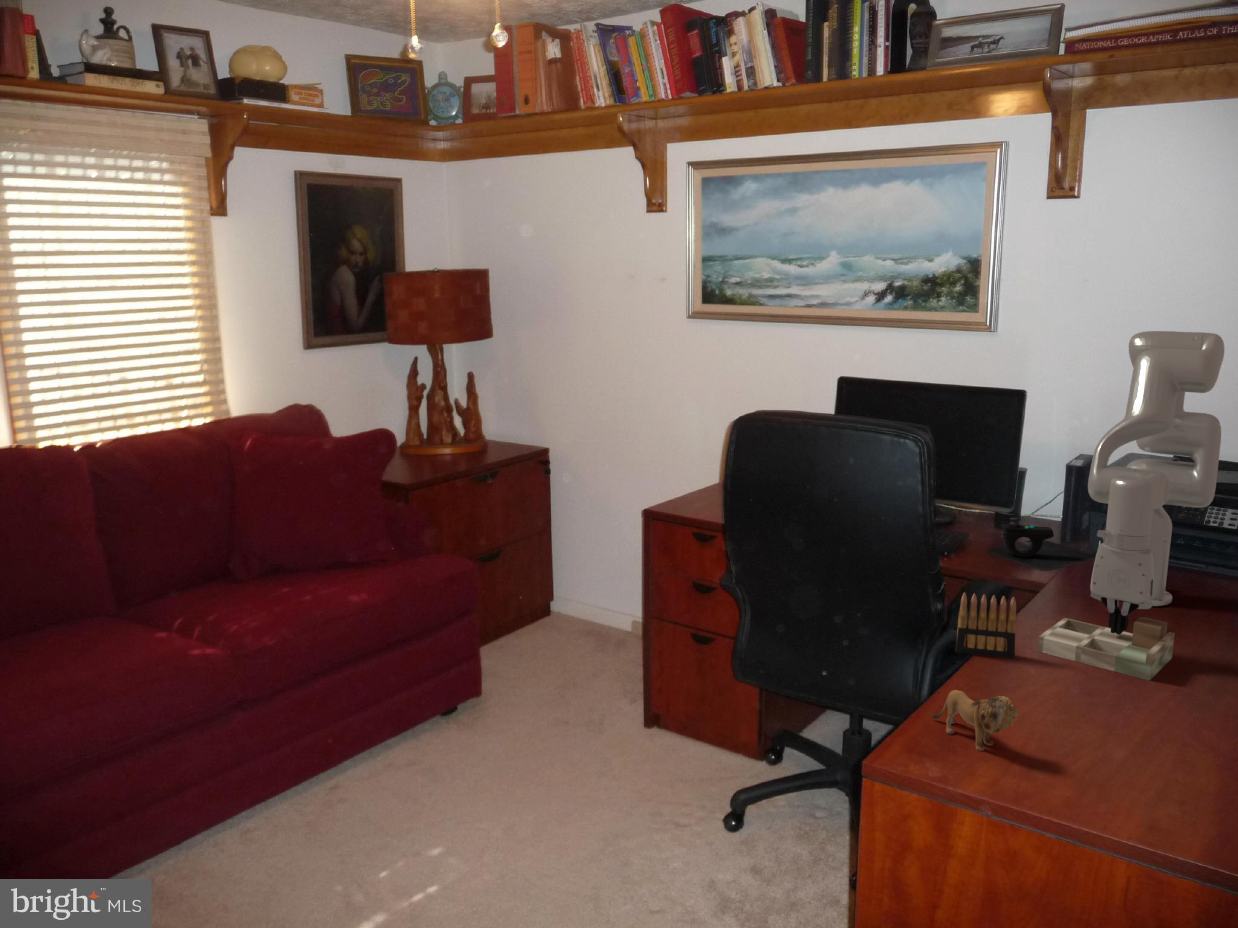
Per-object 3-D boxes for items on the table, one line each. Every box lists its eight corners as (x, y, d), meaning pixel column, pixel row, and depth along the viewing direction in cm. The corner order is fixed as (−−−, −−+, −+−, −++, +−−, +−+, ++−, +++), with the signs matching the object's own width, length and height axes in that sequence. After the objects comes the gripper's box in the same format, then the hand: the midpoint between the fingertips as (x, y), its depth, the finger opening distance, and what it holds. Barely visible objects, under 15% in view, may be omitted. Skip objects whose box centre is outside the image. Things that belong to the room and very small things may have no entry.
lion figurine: (1020, 751, 149) (1025, 697, 148) (999, 761, 146) (1003, 706, 145) (942, 715, 161) (945, 665, 160) (920, 724, 158) (924, 672, 157)
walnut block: (1139, 638, 186) (1141, 616, 185) (1164, 644, 183) (1167, 622, 182) (1131, 645, 183) (1134, 622, 182) (1157, 651, 180) (1160, 628, 179)
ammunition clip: (1013, 654, 186) (1018, 595, 184) (1014, 658, 185) (1019, 598, 182) (955, 648, 189) (959, 590, 187) (955, 652, 188) (959, 593, 185)
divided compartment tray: (1063, 631, 198) (1065, 608, 197) (1171, 657, 184) (1174, 633, 183) (1037, 651, 188) (1039, 626, 187) (1149, 680, 174) (1152, 654, 173)
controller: (998, 552, 252) (1001, 515, 250) (1049, 555, 249) (1053, 518, 247) (1001, 557, 248) (1004, 519, 246) (1052, 560, 245) (1056, 522, 243)
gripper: (1078, 537, 186) (1070, 627, 189) (1165, 552, 176) (1154, 647, 179) (1091, 529, 191) (1083, 617, 195) (1176, 543, 181) (1165, 636, 185)
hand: (1117, 631), depth 187 cm, fingers closed
